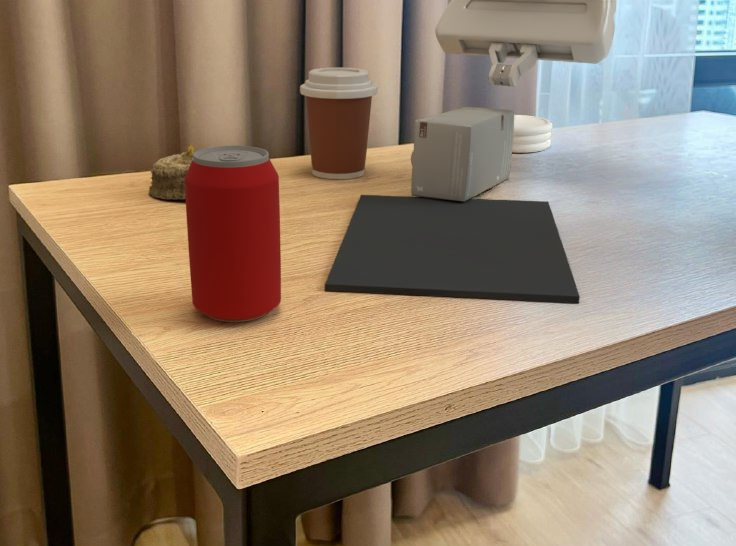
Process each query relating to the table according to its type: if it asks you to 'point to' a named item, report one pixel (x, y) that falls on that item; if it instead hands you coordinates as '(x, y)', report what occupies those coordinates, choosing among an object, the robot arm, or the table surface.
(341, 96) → the coffee cup
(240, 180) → the beverage can
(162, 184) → the cake
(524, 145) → the white round stack
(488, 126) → the cosmetic box
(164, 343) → the table surface
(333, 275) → the mat
